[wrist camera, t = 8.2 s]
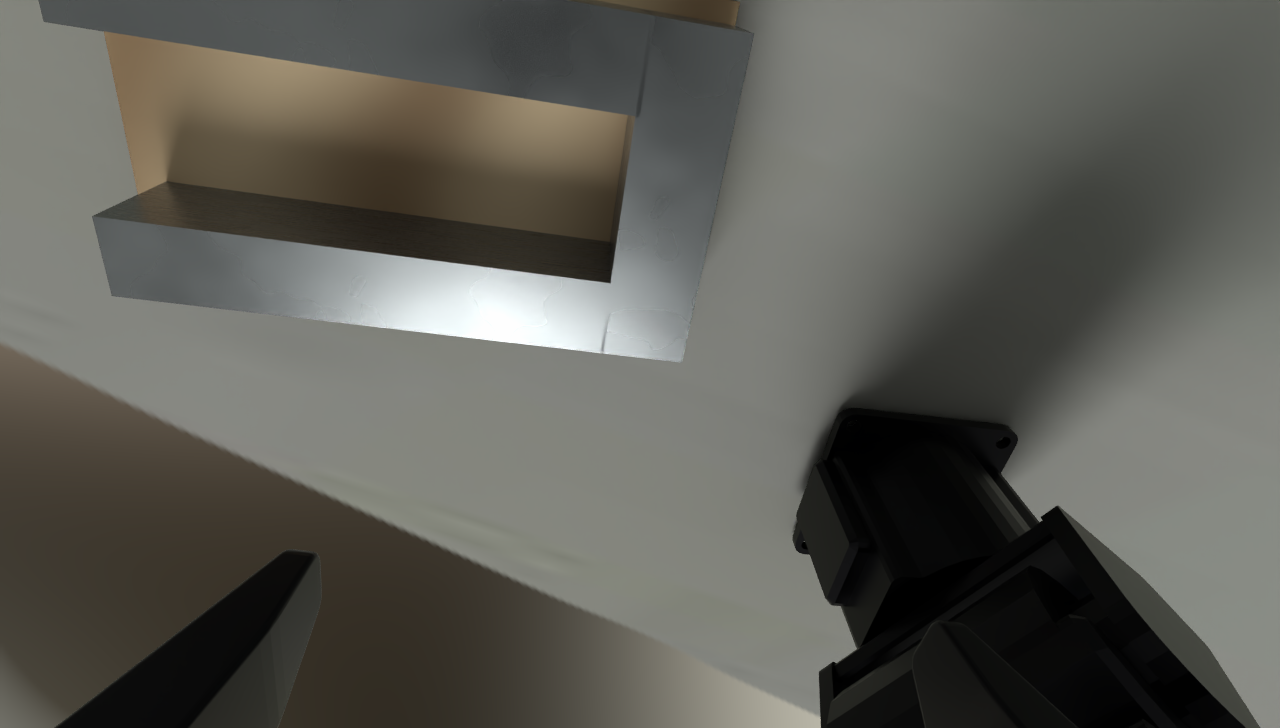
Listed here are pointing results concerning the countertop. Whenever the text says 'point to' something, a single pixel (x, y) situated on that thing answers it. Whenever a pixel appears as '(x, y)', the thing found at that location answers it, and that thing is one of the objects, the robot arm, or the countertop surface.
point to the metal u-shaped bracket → (438, 248)
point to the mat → (373, 136)
